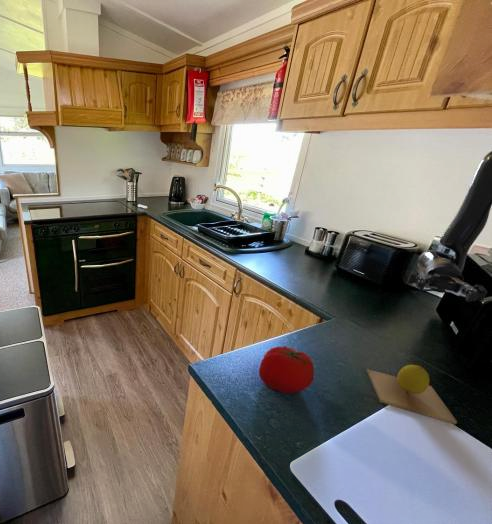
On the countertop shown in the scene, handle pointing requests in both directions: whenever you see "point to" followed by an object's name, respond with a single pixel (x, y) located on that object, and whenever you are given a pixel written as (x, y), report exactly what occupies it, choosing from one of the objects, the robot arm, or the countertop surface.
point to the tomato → (286, 370)
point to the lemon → (413, 379)
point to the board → (409, 397)
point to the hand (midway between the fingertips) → (445, 292)
